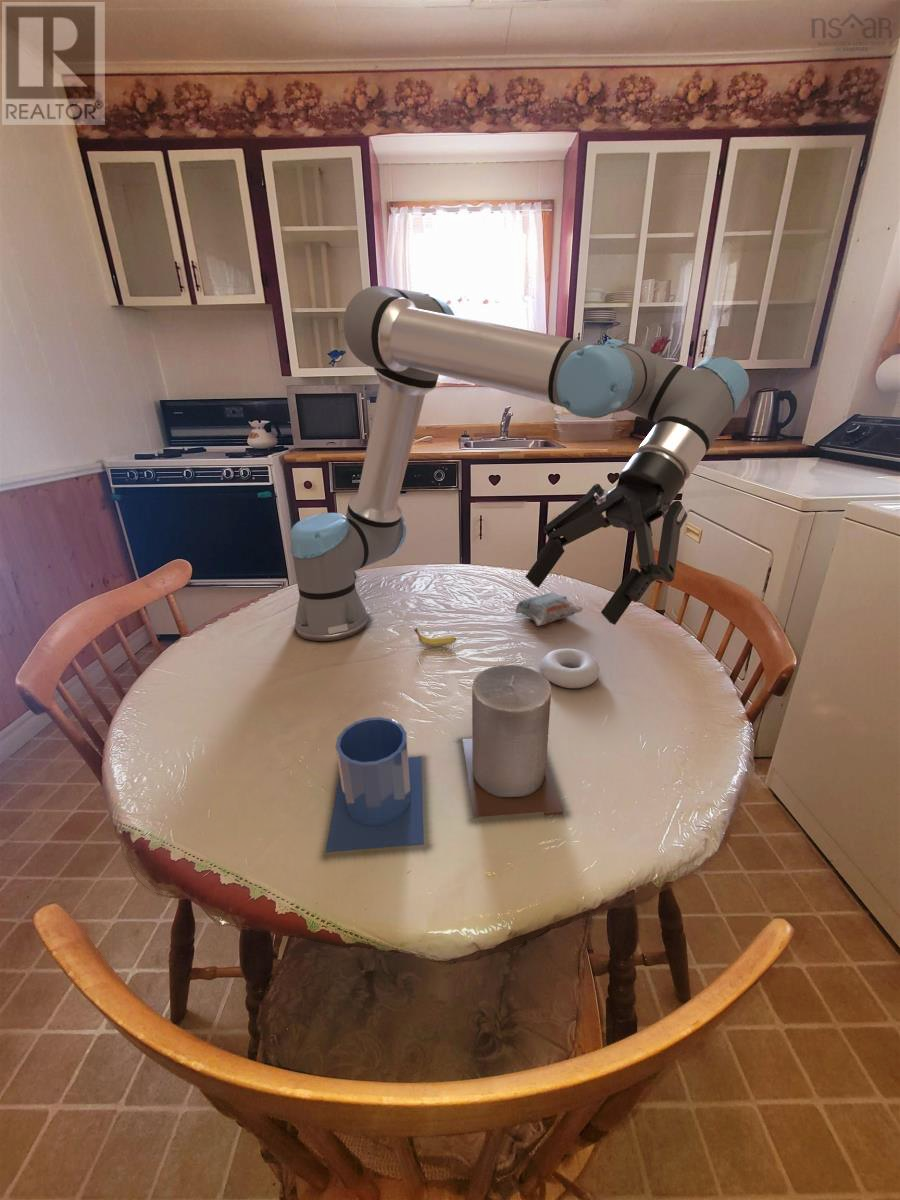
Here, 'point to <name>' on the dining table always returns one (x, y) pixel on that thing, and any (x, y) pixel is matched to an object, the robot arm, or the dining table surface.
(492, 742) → the pillar candle
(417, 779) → the blue mat
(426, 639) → the banana
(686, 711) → the dining table surface
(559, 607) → the packaged food
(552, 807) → the gray board
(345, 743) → the blue cup
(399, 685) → the dining table surface
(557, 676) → the donut
